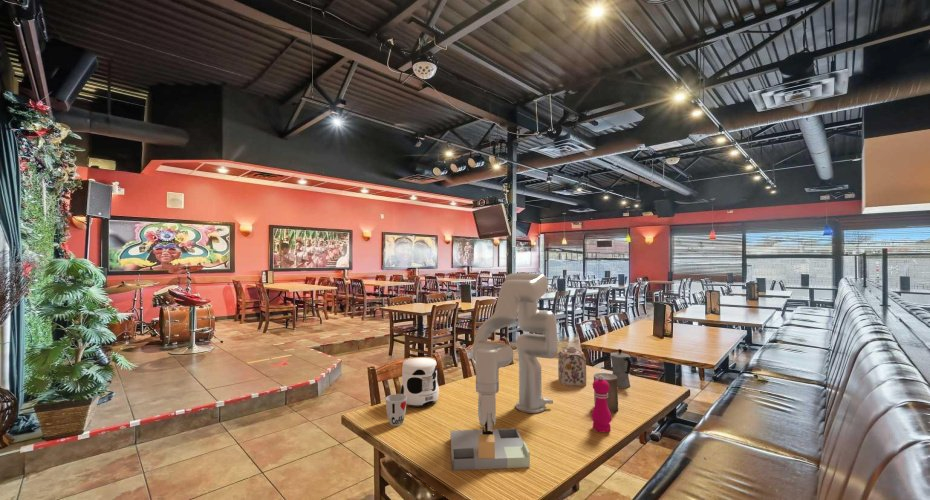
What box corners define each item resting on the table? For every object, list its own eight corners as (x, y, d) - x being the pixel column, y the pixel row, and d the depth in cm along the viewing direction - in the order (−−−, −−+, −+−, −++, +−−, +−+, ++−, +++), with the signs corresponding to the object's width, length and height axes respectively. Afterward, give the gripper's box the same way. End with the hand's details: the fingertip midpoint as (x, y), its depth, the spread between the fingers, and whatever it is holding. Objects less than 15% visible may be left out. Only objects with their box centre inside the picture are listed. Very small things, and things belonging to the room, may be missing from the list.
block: (494, 450, 123) (494, 434, 123) (494, 458, 118) (494, 442, 118) (478, 450, 123) (478, 434, 123) (478, 458, 118) (478, 441, 118)
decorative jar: (586, 386, 191) (586, 350, 192) (563, 386, 192) (563, 350, 192) (580, 378, 203) (579, 344, 204) (558, 378, 204) (557, 344, 204)
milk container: (410, 393, 183) (410, 356, 183) (444, 397, 178) (444, 358, 178) (393, 407, 166) (393, 366, 166) (430, 412, 161) (430, 369, 161)
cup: (389, 429, 145) (389, 402, 145) (383, 421, 152) (383, 396, 152) (409, 424, 149) (409, 399, 149) (403, 417, 156) (402, 392, 156)
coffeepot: (605, 381, 199) (604, 346, 199) (621, 380, 200) (621, 345, 201) (621, 391, 184) (621, 353, 184) (639, 390, 185) (639, 353, 185)
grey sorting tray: (517, 436, 138) (516, 424, 138) (529, 467, 118) (529, 452, 118) (450, 439, 137) (450, 426, 137) (452, 470, 117) (452, 455, 117)
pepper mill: (609, 434, 139) (608, 379, 140) (589, 430, 143) (588, 376, 143) (613, 427, 145) (612, 374, 146) (594, 423, 149) (593, 371, 150)
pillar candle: (621, 407, 164) (621, 372, 164) (612, 414, 157) (611, 377, 157) (599, 402, 171) (599, 368, 171) (590, 408, 163) (589, 373, 164)
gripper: (474, 379, 133) (474, 432, 133) (477, 394, 118) (478, 454, 118) (495, 378, 133) (495, 431, 133) (502, 393, 118) (502, 453, 118)
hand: (487, 442), depth 125 cm, fingers closed
